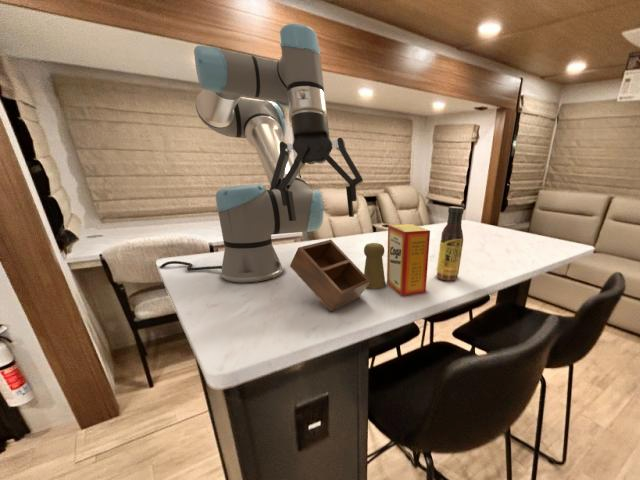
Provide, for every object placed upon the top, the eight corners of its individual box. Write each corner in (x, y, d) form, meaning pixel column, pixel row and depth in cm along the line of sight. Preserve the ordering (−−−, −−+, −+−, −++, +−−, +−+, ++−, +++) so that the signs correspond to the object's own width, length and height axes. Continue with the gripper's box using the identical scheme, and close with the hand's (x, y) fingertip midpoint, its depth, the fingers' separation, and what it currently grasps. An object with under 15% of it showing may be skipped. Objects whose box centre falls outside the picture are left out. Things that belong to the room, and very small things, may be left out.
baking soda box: (386, 283, 83) (388, 223, 77) (408, 280, 86) (411, 222, 80) (402, 296, 76) (405, 230, 69) (425, 292, 78) (430, 229, 72)
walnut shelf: (289, 266, 68) (298, 247, 65) (321, 256, 76) (331, 239, 73) (330, 311, 66) (342, 294, 63) (359, 297, 74) (370, 281, 71)
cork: (382, 289, 79) (382, 247, 75) (359, 287, 80) (358, 245, 76) (387, 282, 84) (388, 242, 80) (366, 279, 85) (366, 240, 81)
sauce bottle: (443, 282, 85) (450, 208, 78) (432, 275, 91) (438, 205, 83) (463, 280, 88) (472, 208, 80) (451, 273, 93) (458, 205, 85)
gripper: (242, 114, 62) (261, 222, 67) (365, 105, 62) (375, 214, 67) (258, 125, 69) (274, 222, 75) (368, 117, 69) (377, 215, 75)
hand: (322, 219), depth 71 cm, fingers open, 13 cm apart
